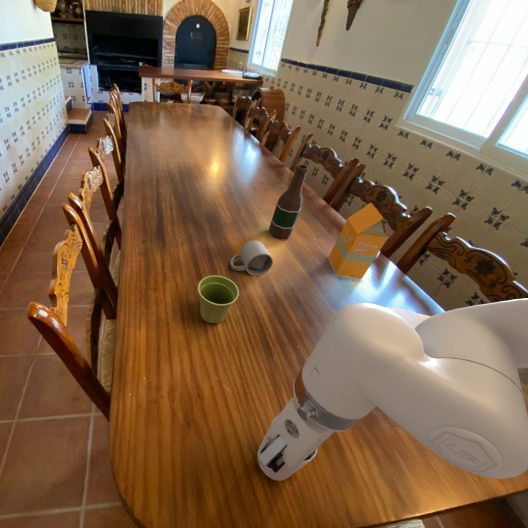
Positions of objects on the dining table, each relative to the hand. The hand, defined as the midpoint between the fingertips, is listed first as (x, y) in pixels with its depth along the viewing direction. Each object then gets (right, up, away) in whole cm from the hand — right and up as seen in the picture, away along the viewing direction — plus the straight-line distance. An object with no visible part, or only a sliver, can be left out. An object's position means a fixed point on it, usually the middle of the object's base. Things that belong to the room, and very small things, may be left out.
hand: (283, 449), depth 46 cm
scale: (+38, +11, +25) cm, 47 cm away
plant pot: (-8, +16, +27) cm, 32 cm away
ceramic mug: (+5, +28, +42) cm, 50 cm away
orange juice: (+35, +28, +45) cm, 63 cm away
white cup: (0, -4, +3) cm, 5 cm away
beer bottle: (+19, +39, +57) cm, 72 cm away
